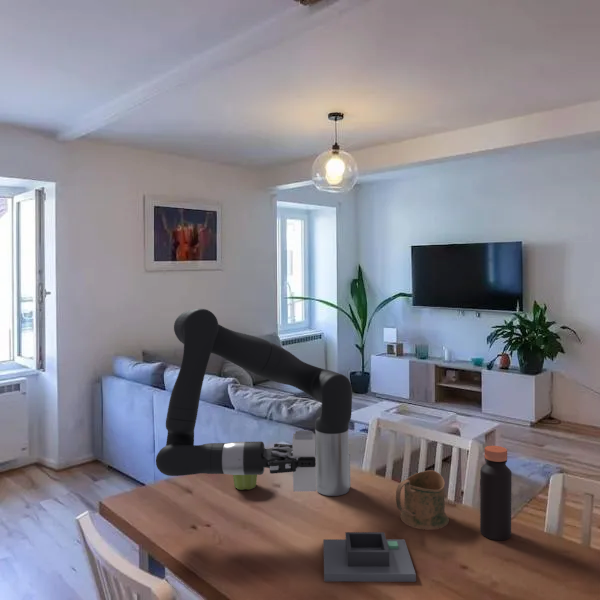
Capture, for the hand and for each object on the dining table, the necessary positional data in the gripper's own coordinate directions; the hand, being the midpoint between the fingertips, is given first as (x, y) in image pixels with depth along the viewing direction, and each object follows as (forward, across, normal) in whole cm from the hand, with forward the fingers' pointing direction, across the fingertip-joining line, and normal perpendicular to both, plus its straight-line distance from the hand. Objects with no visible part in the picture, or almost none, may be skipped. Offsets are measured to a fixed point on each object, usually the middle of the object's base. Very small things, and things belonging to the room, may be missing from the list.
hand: (315, 457), depth 129 cm
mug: (+25, +4, +18) cm, 31 cm away
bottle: (+41, -2, +18) cm, 45 cm away
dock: (+11, -14, +18) cm, 25 cm away
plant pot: (-20, +27, +18) cm, 38 cm away
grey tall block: (-3, 0, +7) cm, 7 cm away
